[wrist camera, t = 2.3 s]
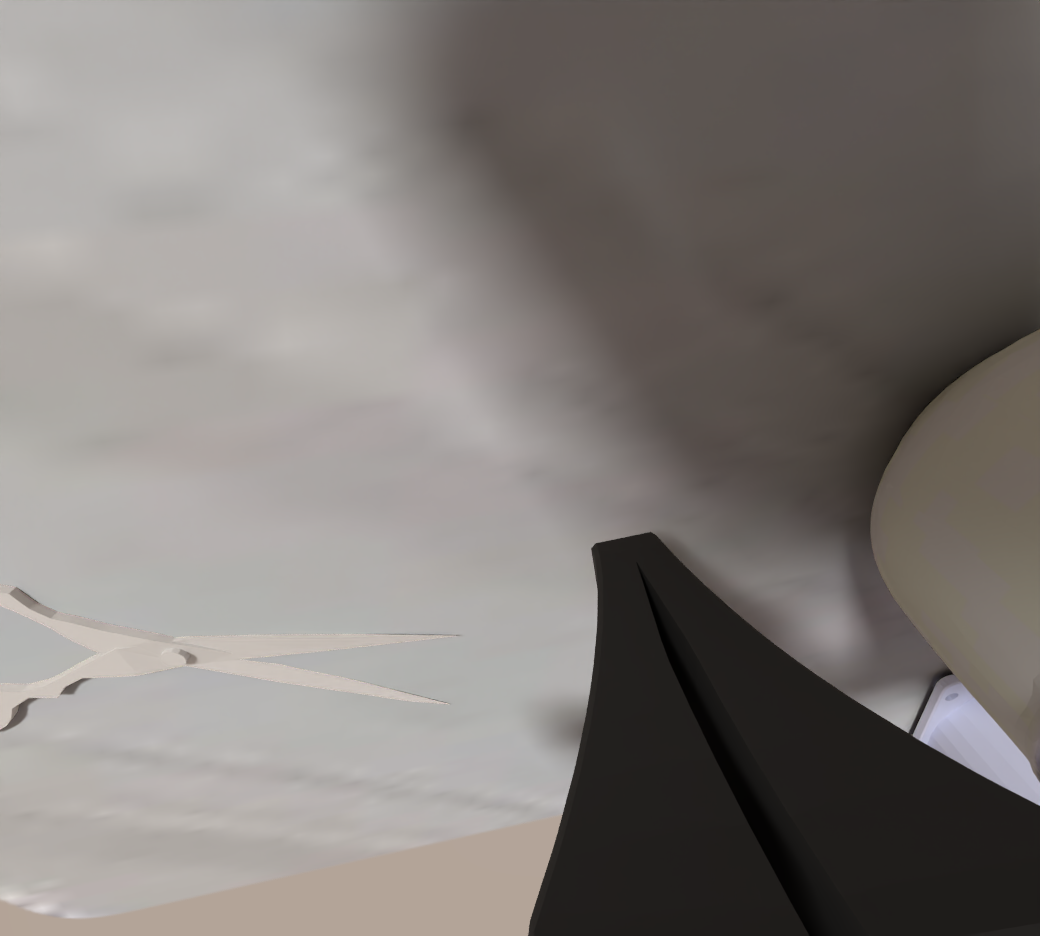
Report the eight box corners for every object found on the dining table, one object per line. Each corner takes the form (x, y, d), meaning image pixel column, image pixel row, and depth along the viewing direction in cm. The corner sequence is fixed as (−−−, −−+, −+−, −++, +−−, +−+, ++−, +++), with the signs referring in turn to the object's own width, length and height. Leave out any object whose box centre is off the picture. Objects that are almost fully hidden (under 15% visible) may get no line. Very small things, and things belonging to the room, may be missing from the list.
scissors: (-373, 487, 11) (482, 572, 14) (-325, 470, 12) (482, 554, 15) (-145, 741, 16) (441, 759, 20) (-120, 719, 17) (442, 740, 20)
